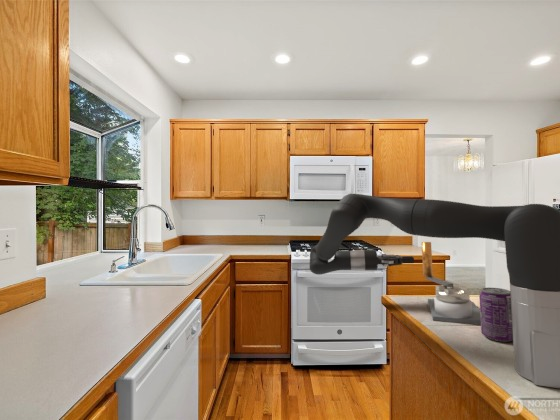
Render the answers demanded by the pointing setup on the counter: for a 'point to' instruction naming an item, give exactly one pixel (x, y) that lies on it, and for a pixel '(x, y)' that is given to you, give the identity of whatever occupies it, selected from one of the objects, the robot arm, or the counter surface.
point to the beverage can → (496, 314)
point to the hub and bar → (442, 292)
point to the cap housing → (454, 312)
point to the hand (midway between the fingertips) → (413, 259)
